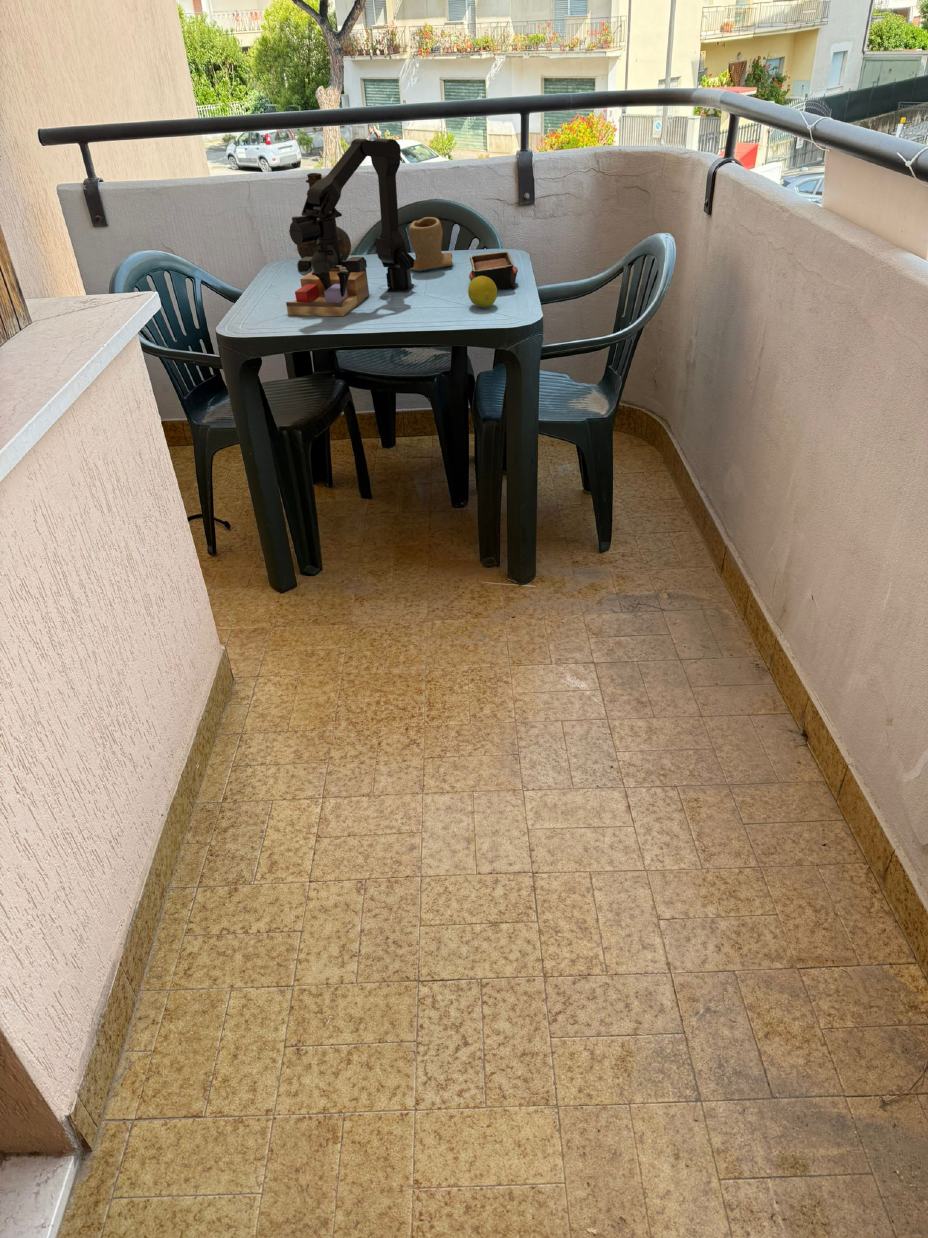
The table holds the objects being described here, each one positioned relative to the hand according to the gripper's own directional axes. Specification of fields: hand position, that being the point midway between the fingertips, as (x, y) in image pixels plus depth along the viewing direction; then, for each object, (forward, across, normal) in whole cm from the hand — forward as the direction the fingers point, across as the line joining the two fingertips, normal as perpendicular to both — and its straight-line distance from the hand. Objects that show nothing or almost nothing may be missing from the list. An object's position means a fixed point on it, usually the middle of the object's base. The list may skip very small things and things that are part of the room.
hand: (336, 296), depth 237 cm
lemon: (+4, +42, +6) cm, 42 cm away
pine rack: (+4, -4, +4) cm, 7 cm away
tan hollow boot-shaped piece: (+4, +14, +44) cm, 47 cm away
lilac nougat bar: (+1, 0, 0) cm, 1 cm away
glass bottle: (+4, -24, +46) cm, 52 cm away
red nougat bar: (+1, -9, 0) cm, 9 cm away
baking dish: (+4, +39, +26) cm, 47 cm away
